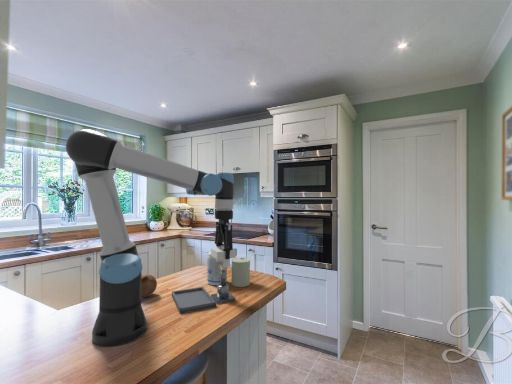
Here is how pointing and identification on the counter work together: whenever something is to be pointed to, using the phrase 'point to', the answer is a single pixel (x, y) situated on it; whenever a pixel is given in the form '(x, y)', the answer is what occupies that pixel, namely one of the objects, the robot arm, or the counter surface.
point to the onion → (148, 285)
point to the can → (240, 272)
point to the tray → (192, 299)
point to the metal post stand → (223, 289)
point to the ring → (218, 253)
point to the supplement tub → (213, 270)
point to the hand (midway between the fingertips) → (222, 264)
